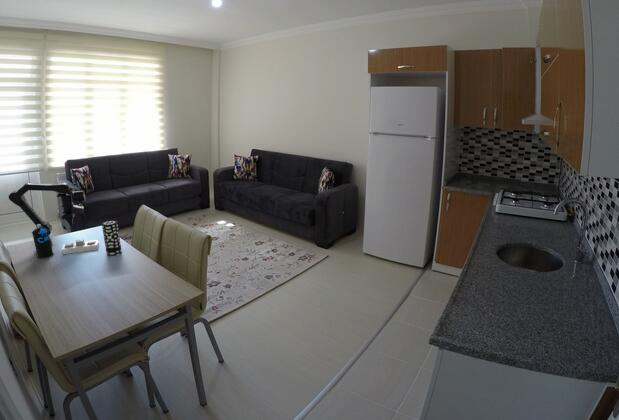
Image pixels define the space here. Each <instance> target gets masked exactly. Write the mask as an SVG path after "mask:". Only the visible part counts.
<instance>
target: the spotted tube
mask: <svg viewBox="0 0 619 420" xmlns="http://www.w3.org/2000/svg"><path fill="white" fill-rule="evenodd" d="M101 229H102V235H103V241H104V246H105V253H106V256H108V257H114V256H119V255H121V254H122V253H123V251H122V245H121V237H120V231H119V225H118V221H117V220H108V221H104V222H101Z"/></svg>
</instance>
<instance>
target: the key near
mask: <svg viewBox="0 0 619 420" xmlns="http://www.w3.org/2000/svg"><path fill="white" fill-rule="evenodd" d="M73 243H74V242H69V243H64V244H65V248H68V247H73V246H74V245H73Z"/></svg>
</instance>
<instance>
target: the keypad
mask: <svg viewBox="0 0 619 420" xmlns="http://www.w3.org/2000/svg"><path fill="white" fill-rule="evenodd" d="M94 240H95V239H94ZM88 241H89V240H87V241H84V246H76V242H72V243H73V245H74V246H73V247H68V248H65V244H66V243H64V244H63V245H62V248H61V254H62V255H67V254H75V253H80V252H87V251H93V250H98V249H99V246H100V243H99V239H97V240H95V243H96V244H91V245H87V242H88Z"/></svg>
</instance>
